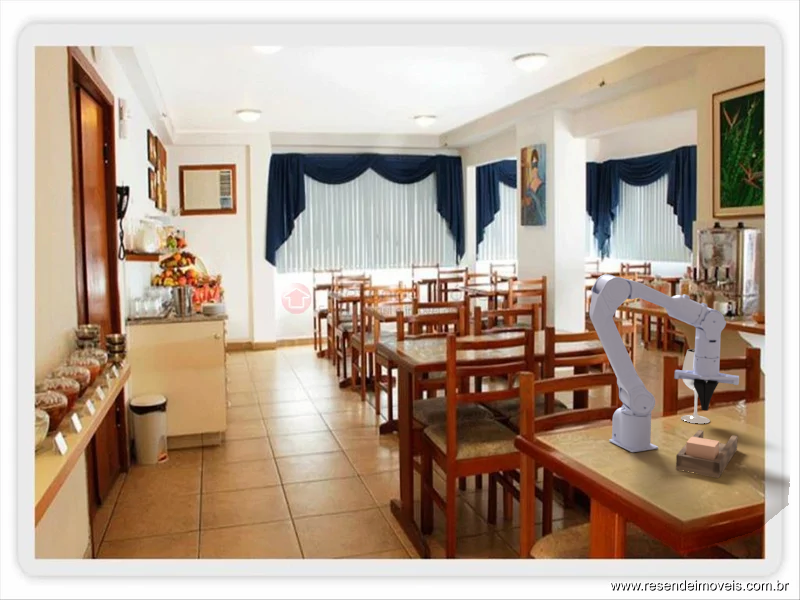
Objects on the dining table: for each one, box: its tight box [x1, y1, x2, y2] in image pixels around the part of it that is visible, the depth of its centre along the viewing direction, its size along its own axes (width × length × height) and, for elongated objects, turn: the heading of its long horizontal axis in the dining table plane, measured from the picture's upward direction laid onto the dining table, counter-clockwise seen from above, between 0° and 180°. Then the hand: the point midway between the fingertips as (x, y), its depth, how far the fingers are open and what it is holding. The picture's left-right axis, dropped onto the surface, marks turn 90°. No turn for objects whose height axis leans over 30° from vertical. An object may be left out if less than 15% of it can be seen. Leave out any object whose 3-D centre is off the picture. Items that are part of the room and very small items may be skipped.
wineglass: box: [680, 348, 711, 425], centre depth 190 cm, size 8×8×20 cm
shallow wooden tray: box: [675, 429, 738, 479], centre depth 160 cm, size 22×9×4 cm, turn 144°
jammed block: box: [685, 436, 720, 460], centre depth 155 cm, size 5×6×5 cm
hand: (705, 409), depth 169 cm, fingers closed
